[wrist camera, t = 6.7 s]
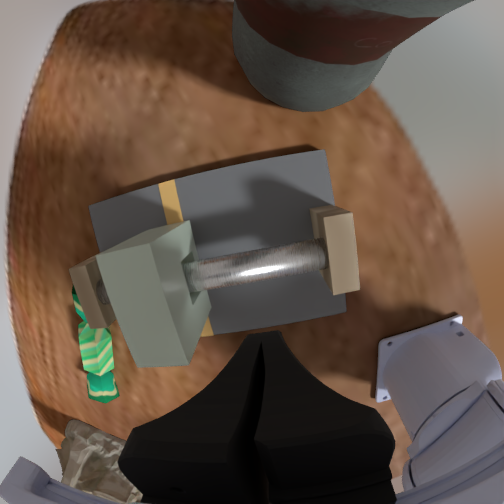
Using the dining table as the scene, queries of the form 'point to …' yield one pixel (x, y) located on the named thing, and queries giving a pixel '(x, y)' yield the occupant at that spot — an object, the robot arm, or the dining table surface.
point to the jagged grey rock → (95, 463)
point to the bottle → (323, 45)
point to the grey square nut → (156, 295)
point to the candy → (96, 358)
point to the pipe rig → (241, 242)
